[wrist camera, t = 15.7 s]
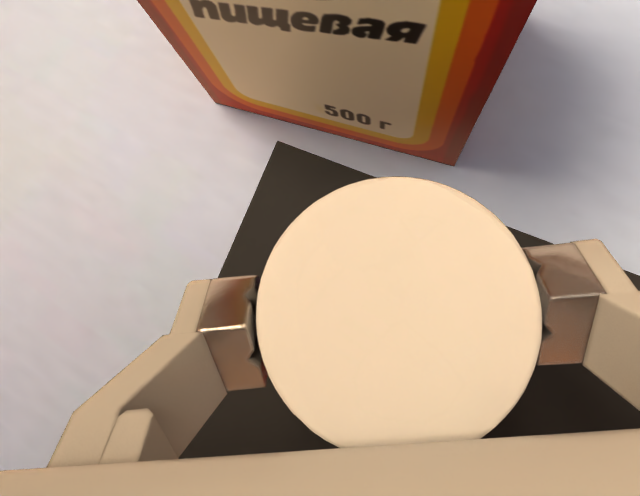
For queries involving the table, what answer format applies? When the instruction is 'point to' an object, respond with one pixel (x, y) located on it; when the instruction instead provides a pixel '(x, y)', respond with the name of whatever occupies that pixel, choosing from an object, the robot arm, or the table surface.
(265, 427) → the rubber mat
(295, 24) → the baking soda box
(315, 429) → the pill bottle
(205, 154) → the table surface
